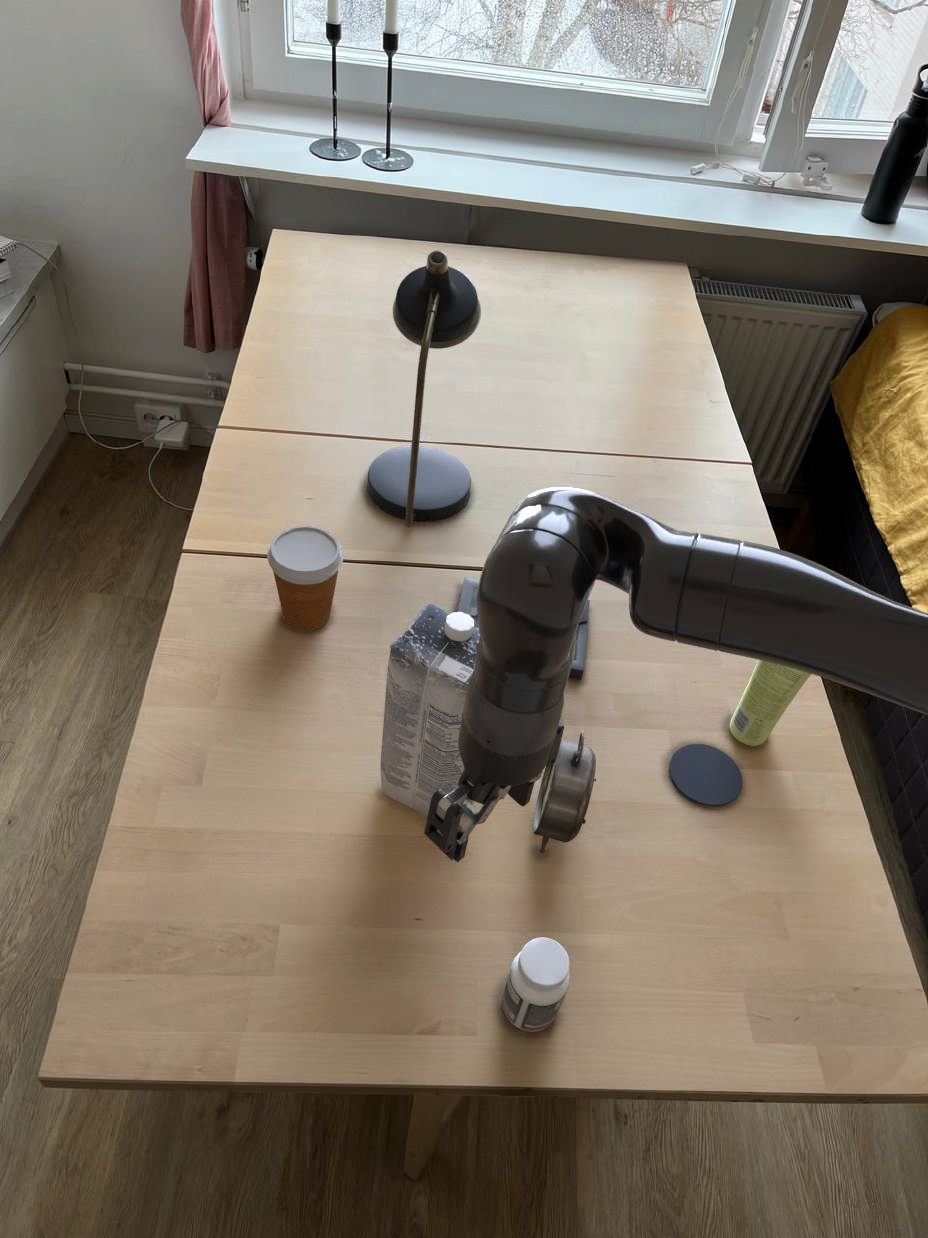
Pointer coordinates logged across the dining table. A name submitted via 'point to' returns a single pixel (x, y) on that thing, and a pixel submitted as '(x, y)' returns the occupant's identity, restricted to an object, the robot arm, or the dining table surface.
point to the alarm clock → (565, 793)
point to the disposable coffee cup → (305, 574)
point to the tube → (765, 701)
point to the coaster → (705, 775)
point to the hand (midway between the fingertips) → (486, 825)
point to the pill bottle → (536, 985)
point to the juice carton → (426, 706)
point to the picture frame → (470, 607)
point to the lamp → (432, 318)
